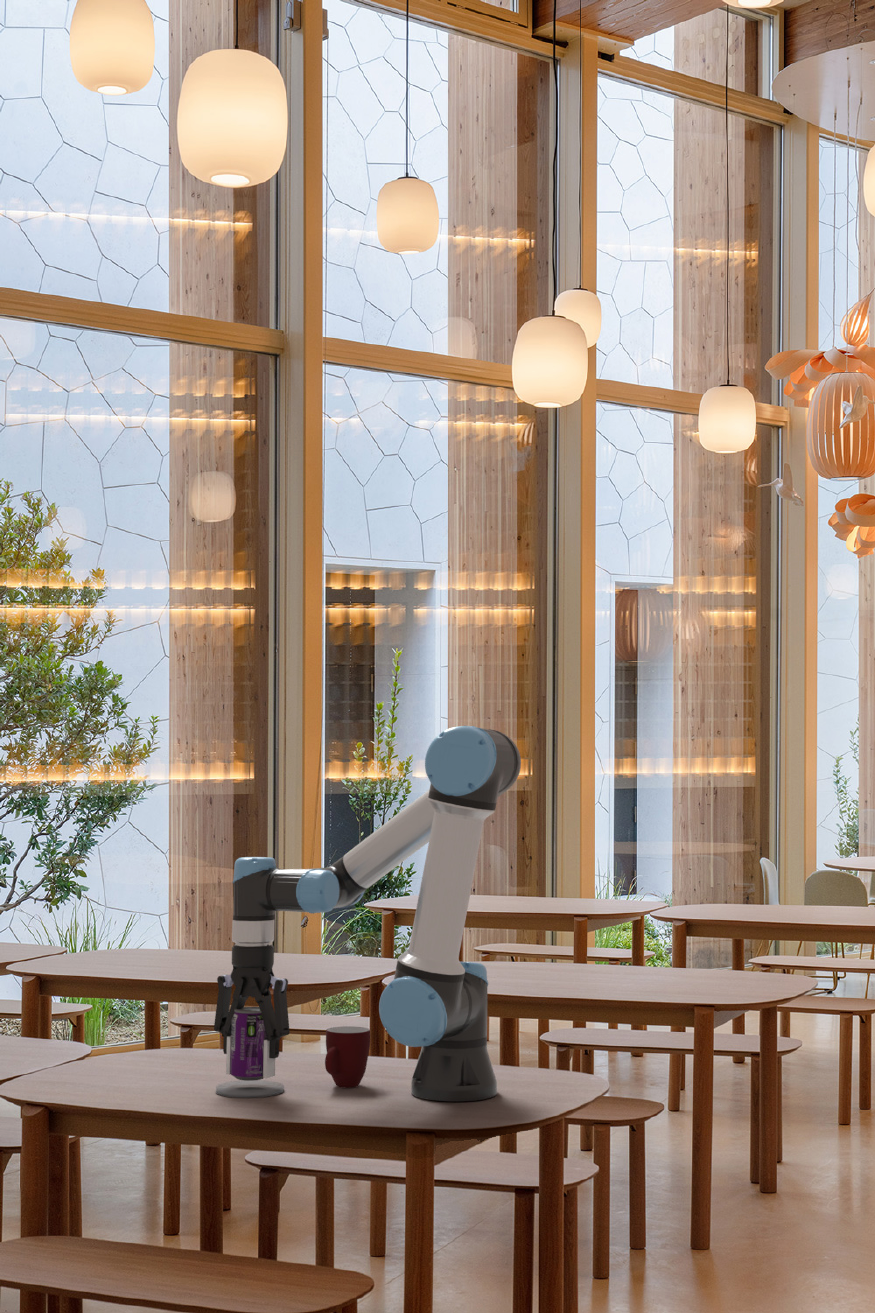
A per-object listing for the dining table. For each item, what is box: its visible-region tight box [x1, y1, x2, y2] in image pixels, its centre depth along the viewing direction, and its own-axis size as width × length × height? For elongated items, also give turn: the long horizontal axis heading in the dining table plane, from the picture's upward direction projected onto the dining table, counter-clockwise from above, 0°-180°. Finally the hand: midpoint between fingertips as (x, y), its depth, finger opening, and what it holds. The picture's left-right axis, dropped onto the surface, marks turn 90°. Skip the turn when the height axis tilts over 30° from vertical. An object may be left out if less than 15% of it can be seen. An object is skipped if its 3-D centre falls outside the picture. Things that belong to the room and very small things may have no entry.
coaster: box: [215, 1079, 285, 1099], centre depth 248 cm, size 12×12×1 cm
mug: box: [324, 1025, 371, 1089], centre depth 252 cm, size 11×8×10 cm
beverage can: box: [230, 1006, 268, 1081], centre depth 249 cm, size 7×7×12 cm
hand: (250, 1075), depth 248 cm, fingers closed on beverage can, 7 cm apart
